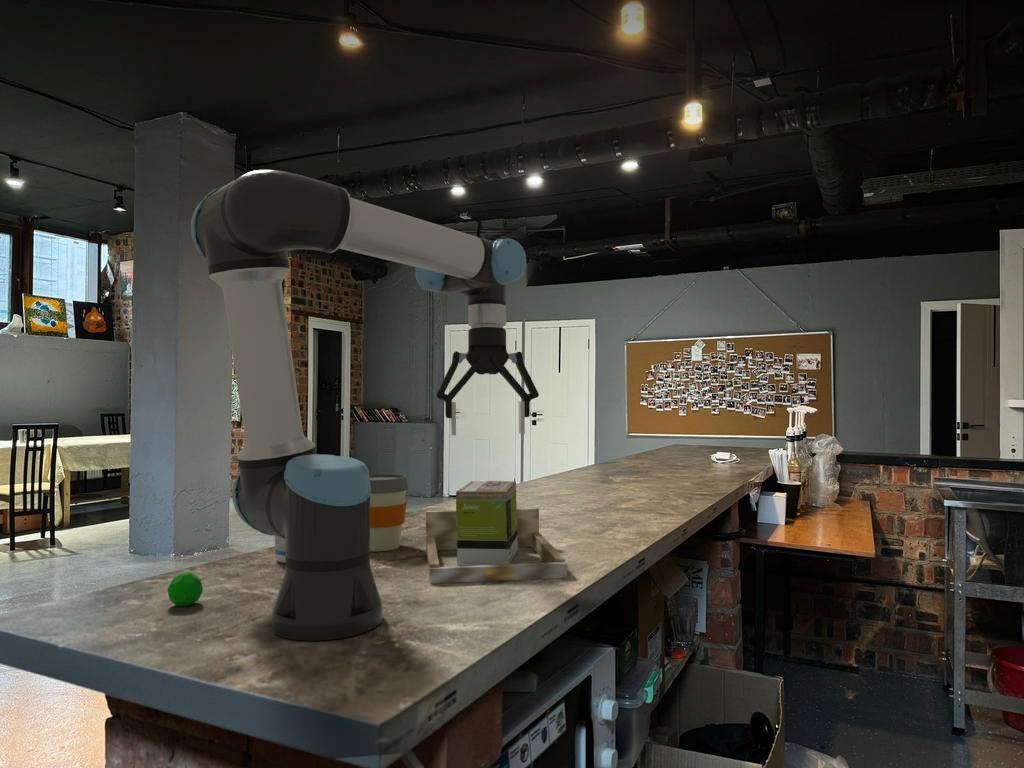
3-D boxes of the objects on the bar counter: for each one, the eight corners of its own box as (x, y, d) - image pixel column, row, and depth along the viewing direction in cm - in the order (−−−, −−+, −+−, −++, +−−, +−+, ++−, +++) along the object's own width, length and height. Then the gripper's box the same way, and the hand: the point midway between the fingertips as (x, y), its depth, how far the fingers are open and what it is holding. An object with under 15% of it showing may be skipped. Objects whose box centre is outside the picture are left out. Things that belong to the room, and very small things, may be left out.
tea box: (471, 550, 147) (470, 479, 147) (518, 551, 146) (518, 480, 146) (455, 568, 132) (455, 489, 132) (508, 569, 131) (508, 489, 131)
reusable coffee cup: (380, 555, 142) (380, 481, 143) (335, 549, 149) (335, 478, 149) (420, 544, 153) (419, 475, 153) (376, 538, 160) (376, 472, 160)
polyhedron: (162, 610, 107) (162, 578, 107) (175, 600, 111) (175, 570, 112) (196, 609, 107) (196, 577, 107) (207, 599, 112) (207, 569, 112)
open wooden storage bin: (430, 584, 120) (430, 537, 121) (425, 548, 148) (425, 510, 149) (567, 578, 124) (566, 532, 124) (537, 544, 152) (537, 507, 152)
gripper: (545, 329, 145) (545, 432, 145) (423, 328, 142) (424, 434, 141) (552, 326, 138) (553, 434, 138) (424, 325, 134) (425, 436, 134)
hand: (487, 434), depth 139 cm, fingers open, 13 cm apart
